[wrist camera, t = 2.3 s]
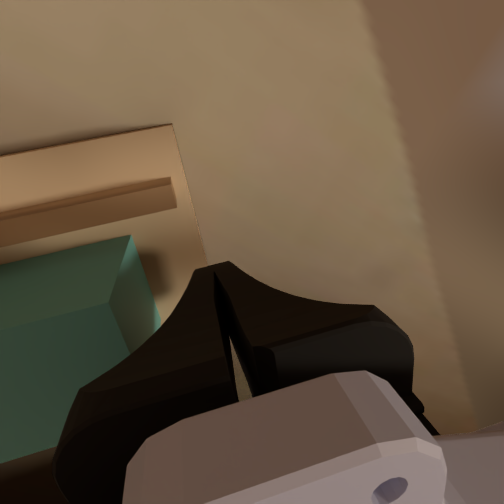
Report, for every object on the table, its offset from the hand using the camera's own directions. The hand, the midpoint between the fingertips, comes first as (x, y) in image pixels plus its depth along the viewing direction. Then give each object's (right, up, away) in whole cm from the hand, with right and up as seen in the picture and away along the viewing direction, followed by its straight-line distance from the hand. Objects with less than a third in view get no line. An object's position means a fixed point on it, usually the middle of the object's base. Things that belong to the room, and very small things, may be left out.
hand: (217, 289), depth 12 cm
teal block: (-5, 0, +1) cm, 6 cm away
